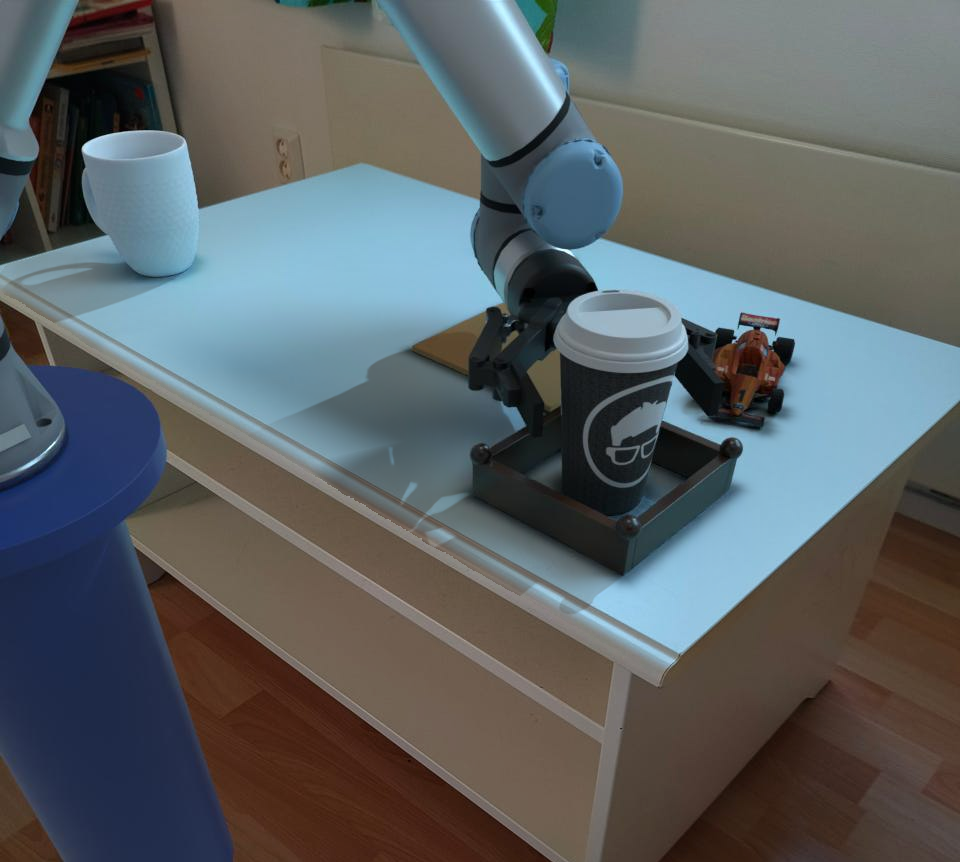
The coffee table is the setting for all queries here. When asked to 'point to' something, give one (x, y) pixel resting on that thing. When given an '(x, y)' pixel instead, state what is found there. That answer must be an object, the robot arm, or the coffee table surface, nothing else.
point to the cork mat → (462, 338)
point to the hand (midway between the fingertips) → (629, 410)
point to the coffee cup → (614, 392)
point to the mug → (144, 198)
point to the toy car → (751, 367)
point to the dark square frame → (585, 526)
